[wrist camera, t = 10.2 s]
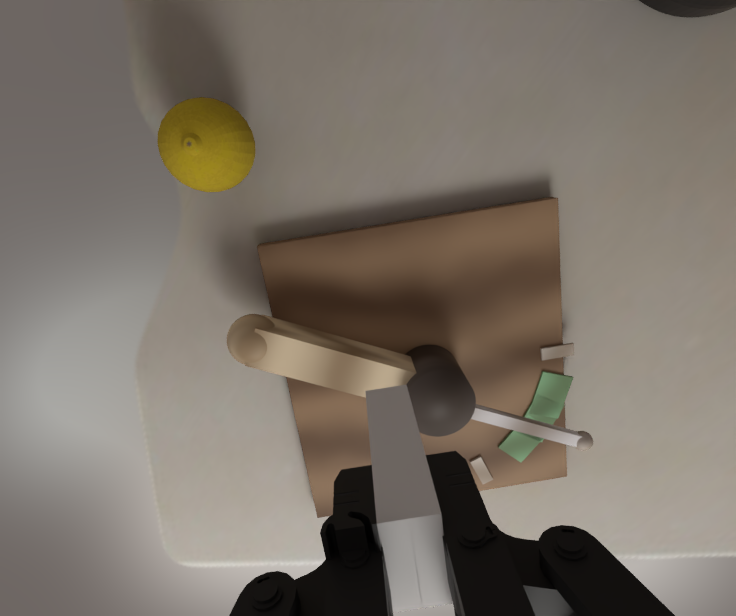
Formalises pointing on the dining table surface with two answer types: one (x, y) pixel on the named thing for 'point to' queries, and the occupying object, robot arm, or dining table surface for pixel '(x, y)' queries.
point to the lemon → (206, 144)
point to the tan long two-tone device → (380, 375)
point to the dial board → (434, 330)
